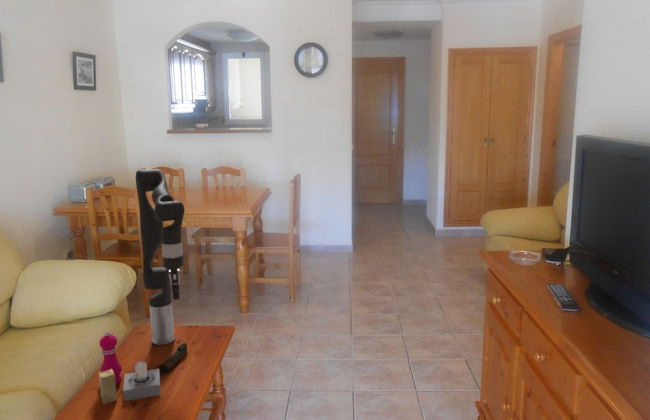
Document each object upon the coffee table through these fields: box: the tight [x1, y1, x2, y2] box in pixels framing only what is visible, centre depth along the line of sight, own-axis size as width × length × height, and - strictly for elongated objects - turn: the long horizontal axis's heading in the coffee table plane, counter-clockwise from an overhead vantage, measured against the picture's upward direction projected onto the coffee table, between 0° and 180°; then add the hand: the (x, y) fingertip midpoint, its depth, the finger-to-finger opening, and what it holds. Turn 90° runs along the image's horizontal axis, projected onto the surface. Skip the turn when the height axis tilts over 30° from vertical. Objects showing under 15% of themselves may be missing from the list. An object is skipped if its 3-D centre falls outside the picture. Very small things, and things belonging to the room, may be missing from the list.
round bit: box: [134, 360, 148, 383], centre depth 181 cm, size 4×4×10 cm
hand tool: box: [158, 342, 188, 375], centre depth 201 cm, size 19×4×5 cm, turn 165°
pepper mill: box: [99, 331, 123, 385], centre depth 185 cm, size 7×7×20 cm
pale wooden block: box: [98, 369, 118, 405], centre depth 175 cm, size 4×4×10 cm
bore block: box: [122, 368, 161, 402], centre depth 182 cm, size 12×12×4 cm
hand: (175, 295), depth 191 cm, fingers open, 8 cm apart
